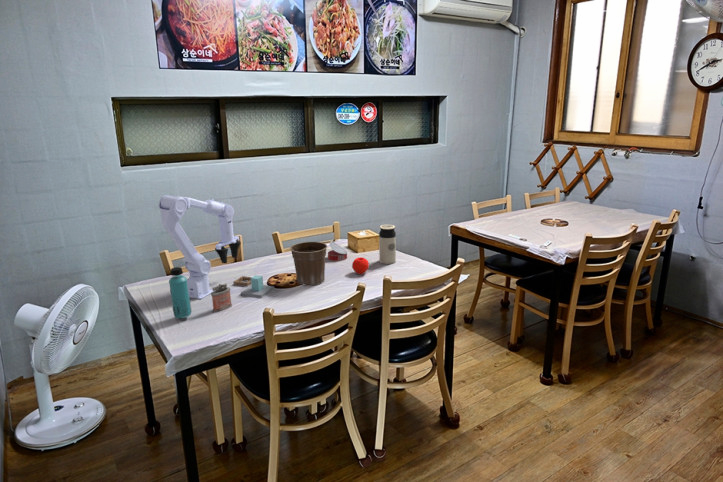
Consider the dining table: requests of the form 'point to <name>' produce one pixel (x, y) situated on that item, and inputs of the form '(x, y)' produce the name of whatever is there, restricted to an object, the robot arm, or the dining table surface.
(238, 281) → the collar
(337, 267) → the dining table surface
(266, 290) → the mat
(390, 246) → the travel mug
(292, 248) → the plant pot
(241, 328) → the dining table surface
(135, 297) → the dining table surface
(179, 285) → the beverage bottle
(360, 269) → the apple
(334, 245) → the canned food
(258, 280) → the peg
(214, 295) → the crushed red tin
